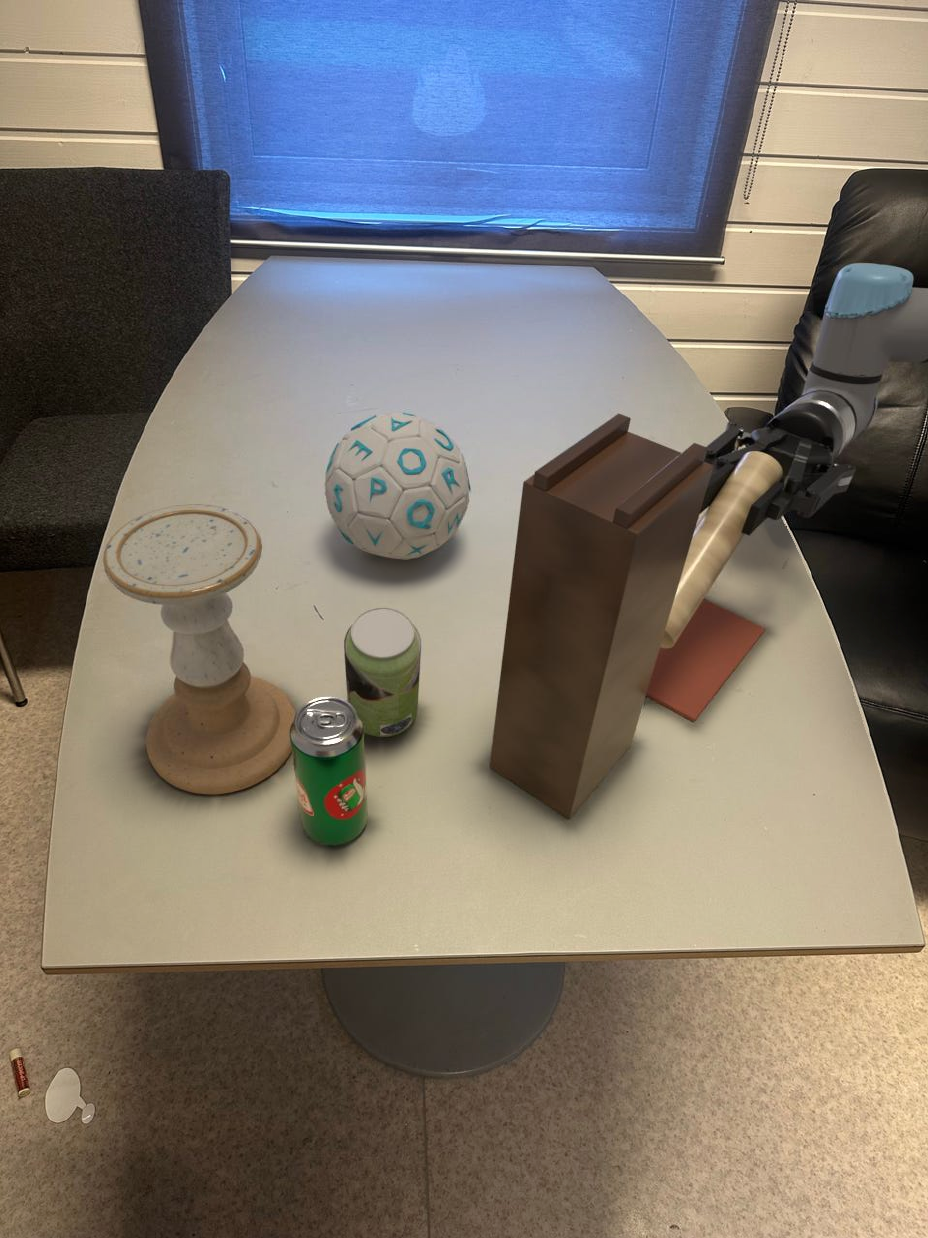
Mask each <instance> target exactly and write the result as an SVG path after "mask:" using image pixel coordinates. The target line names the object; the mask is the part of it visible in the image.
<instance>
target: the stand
mask: <svg viewBox="0 0 928 1238" xmlns="http://www.w3.org/2000/svg"><path fill="white" fill-rule="evenodd" d="M631 419H632V418H631V417H629V416H627V415H625V414H621V413H616V414H615V415H614V416H612V417H611V418H609V419H608V420H607V421H605V422H604V423H602V424H601V425H600V426H597V428H595V429H594V430H592V431H590V432H589V433H588V434H587V435H585V436H584V437H582V438H581V439H580V440H578V441H577V442H575V443H574V444H572V445H570V446H569V447H568V448H566V449H565V450H563V451H562V452H561V453H559V454H558V455H556V456H555V457H553V458H552V459H551V460H549V461H548V462H546V463H545V464H543V465H542V466H541V467H539V468H537V469H536V470H534V473H533V474H532V475H531V476H529V477H528V478H526V479H525V480H524V481H523V483H522V491H521V499H520V507H519V515H518V524H517V532H516V541H515V550H514V558H513V564H512V565H513V567H512V575H511V582H510V589H509V598H508V599H509V600H508V607H507V615H506V624H505V631H504V632H505V633H504V641H503V650H502V657H501V667H500V675H499V683H498V692H497V699H496V709H495V715H494V716H495V717H494V726H493V732H492V733H493V734H492V742H491V750H490V757H489V768H490V769H491V770H493V771H494V772H496V773H497V774H499V775H501V776H502V777H503V778H505V779H506V780H508V781H509V782H511V783H513V784H514V785H516V786H518V787H519V788H520V789H522V790H524V791H525V792H527V793H528V794H530V795H531V796H532V797H534V798H536V799H538V800H539V801H540V802H542V803H543V804H544V805H547V806H548V807H550V808H551V809H553V810H554V811H555V812H557V813H558V814H560V815H562V816H563V817H565V818H566V819H567V820H570V819H571V818H572V817H573V816H574V814H575V813H576V812H578V810H579V809H580V807H581V806H582V805H584V802H585V801H586V800H587V799H588V798H589V797H590V796H591V794H592V793H593V792H594V791H595V789H596V788H597V787H598V786H599V785H600V783H601V782H602V781H603V780H604V779H605V777H607V775H608V773H609V772H610V771H611V770H612V769H613V767H614V766H616V764H617V763H618V762H619V761H620V760H621V758H622V757H623V756H624V755H625V753H626V752H627V751H628V750H629V748H630V747H631V746H632V744H633V740H634V738H635V733H636V731H637V726H638V723H639V720H640V716H641V714H642V710H643V707H644V703H645V699H646V697H647V696H646V693H647V690H648V687H649V683H650V680H651V676H652V673H653V670H654V666H655V663H656V660H657V656H658V653H659V649H660V646H661V643H662V639H663V636H664V632H665V629H666V626H667V622H668V619H669V616H670V612H671V609H672V605H673V602H674V599H675V595H676V592H677V589H678V585H679V582H680V578H681V575H682V572H683V568H684V565H685V561H686V558H687V555H688V551H689V548H690V545H691V541H692V538H693V534H694V531H695V528H696V525H697V524H698V522H699V517H700V515H701V514H700V511H701V507H702V504H703V501H704V497H705V494H706V491H707V487H708V484H709V480H710V477H711V474H712V470H713V465H711V464H708V463H706V462H704V460H705V456H706V453H707V449H708V448H707V446H705V445H701V444H699V443H697V442H693V443H691V445H689V446H688V447H687V448H686V449H684V450H683V451H682V452H681V451H678V450H676V449H674V448H670V447H669V446H666V445H663V444H661V443H658V442H656V441H653V440H650V439H648V438H646V437H643V436H640V435H638V434H636V433H633V432H630V431H629V429H630V424H631Z"/></svg>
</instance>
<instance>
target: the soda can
mask: <svg viewBox="0 0 928 1238" xmlns="http://www.w3.org/2000/svg"><path fill="white" fill-rule="evenodd" d="M290 742H291V750H292V751H291V757H292V763H293V770H294V771H293V772H294V778H295V784H296V785H295V786H296V790H297V791H296V794H297V799H298V800H297V801H298V806H299V807H298V808H299V814H300V822H301V826H302V830H303V831H304V833H305V835H307V837H309V839H310V840H312V841H314V842H316V843H318V844H321V845H324V846H338V845H339V846H340V845H343V844H346V843H349V842H351V841H353V840H354V839H356V837H358V836H359V835H360V834H361V833H362V832H363V830H364V829H365V828H366V824H367V821H368V814H369V813H368V794H367V793H368V792H367V773H366V771H367V770H366V749H365V748H366V747H365V733H364V727H363V722H362V720H361V718H360V716H359V715H358V714H357V713H356V711H355V709H354V707H353V706H352V705H351V704H350V703H348V701H347V700H345V699H343V698H340V697H337V696H321V697H320V696H319V697H316V698H313V699H311V700H309V701H307V702H305V703H304V704H303V705H301V706H300V707H299V708H298V710H297V711H296V715H295V718H294V720H293V722H292V724H291V727H290Z"/></svg>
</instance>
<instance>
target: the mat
mask: <svg viewBox="0 0 928 1238" xmlns="http://www.w3.org/2000/svg"><path fill="white" fill-rule="evenodd" d="M765 631H766V627H764V626H762V625H760V624H758V623H755V622H753V621H751V620H749V619H747V618H745V617H743V616H741V615H738V614H736V613H735V612H732V611H730V610H728V609H726V608H724V607H722V606H720V605H718V604H715V603H713V602H711V601H709V600H707V599H705V598H704V599H703V601H702V602H701V604H700V606H699V607H698V609H697V610H696V612H695V613H694V615H693V616H692V618H691V620H690V621H689V623H688V624H687V626H686V627H685V629H684V630H683V632H682V634H681V635H680V637H679V638H678V640H677V641H676V643H675V644H674V646H673V647H671V648H661V647H660V649H659V653H658V656H657V660H656V663H655V666H654V670H653V673H652V676H651V680H650V683H649V687H648V690H647V693H646V697H648V698H649V699H650V700H653V701H654V702H656V703H658V704H660V705H662V706H664V707H666V708H667V709H669V710H672V711H673V712H675V713H676V714H678V715H680V716H682V717H683V718H686V720H687V719H688V720H689V721H691V722H692V723H694V722H696V720H697V719H698V718H699V716H700V715H701V714H702V712H703V711H704V710H705V708H706V707H707V705H709V703H710V702H711V701H712V699H713V698H714V697H715V696H716V695H717V693H718V691H720V689H721V688H722V687H723V686H724V684H725V683H726V682H727V680H728V679H729V677H730V676H731V675H732V674H733V672H734V671H735V670H736V669H737V667H738V666H739V664H740V663H741V662H742V661H743V659H745V657H746V656H747V654H748V653H749V652H750V650H751V649H752V648H753V647H754V645H755V644H756V643H757V641H758V640H759V639H760V637H761V636H762V635H763V634H764V632H765Z"/></svg>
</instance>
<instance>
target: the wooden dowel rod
mask: <svg viewBox="0 0 928 1238" xmlns="http://www.w3.org/2000/svg"><path fill="white" fill-rule="evenodd" d="M782 476H783V470H782V467H781V466H780V464H779V463H778V462H777V461H776V460H775V459H774V458H773V457H771V456H770V455H768V454H765V453H762V452H758V451H752V452H748V453H746V454H744V455H743V457H742V458H741V460H740V461H739V463H738V464H737V466H736V467H735V469H734V470H733V472H732V473H731V475H730V476H729V478H728V479H727V481H726V482H725V484H724V485H723V487H722V488H721V490H720V491H719V493H718V494H717V495H716V497H715V498H714V500H713V501H712V503H711V504H710V506H709V507H708V508H707V509H705V511H704V513H703V515H702V517H701V518H700V519H699V520H698V521H697V524H696V528H695V531H694V534H693V538H692V541H691V545H690V548H689V551H688V555H687V558H686V561H685V565H684V568H683V572H682V575H681V578H680V582H679V585H678V589H677V592H676V595H675V599H674V602H673V605H672V609H671V612H670V616H669V619H668V622H667V626H666V629H665V632H664V636H663V639H662V643H661V646H660V647H661V648H671V647H673V646H674V644H675V643H676V641H677V640H678V638H679V637H680V635H681V634H682V632H683V630H684V629H685V627H686V626H687V624H688V623H689V621H690V620H691V618H692V616H693V615H694V613H695V612H696V610H697V609H698V607H699V606H700V604H701V602H702V601H703V599H705V598H706V596H707V595H708V594H709V592H710V590H711V589H712V588H713V586H714V584H715V582H717V579H718V578H719V576H720V574H721V573H722V572H723V570H724V568H725V567H726V565H727V564H728V563H729V561H730V559H731V557H732V556H733V554H734V553H735V551H736V550H737V548H738V546H739V545H740V544H741V542H742V540H743V539H744V537H745V535H746V534H744V533H741V532H742V529H743V526H744V524H745V521H746V518H747V516H748V513H749V511H750V508H751V505H752V504H753V503H754V502H755V501H756V500H757V499H759V498H760V497H761V496H762V495H763V494H764V493H765V492H766V491H767V490H768V489H769V488H770V487H771V486H772V485H773V484H775V483H776V482H780V481H781V480H782V479H783V478H782Z"/></svg>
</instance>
